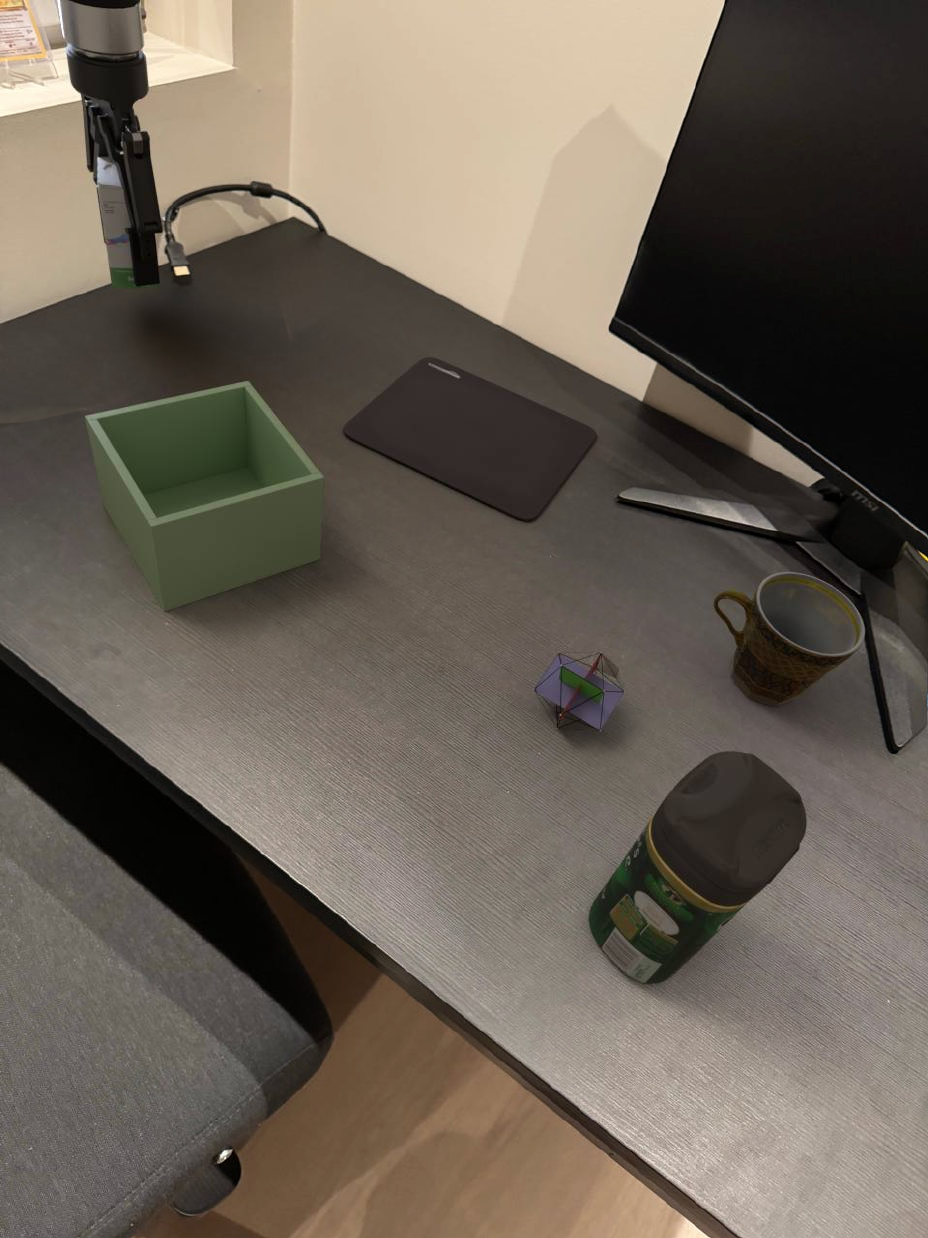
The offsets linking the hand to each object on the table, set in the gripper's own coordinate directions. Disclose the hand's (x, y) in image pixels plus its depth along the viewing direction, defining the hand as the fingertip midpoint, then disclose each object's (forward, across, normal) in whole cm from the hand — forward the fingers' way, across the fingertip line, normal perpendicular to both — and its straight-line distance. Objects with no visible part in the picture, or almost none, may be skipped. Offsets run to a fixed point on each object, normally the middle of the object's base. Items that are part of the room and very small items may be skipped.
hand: (131, 262), depth 101 cm
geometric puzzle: (+6, -74, -11) cm, 75 cm away
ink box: (+1, 0, 0) cm, 1 cm away
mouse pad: (+6, -37, -26) cm, 46 cm away
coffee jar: (+6, -92, -4) cm, 92 cm away
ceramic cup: (+6, -79, -30) cm, 85 cm away
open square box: (+6, -40, +8) cm, 41 cm away
